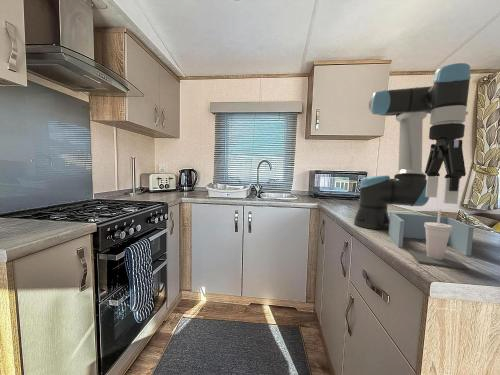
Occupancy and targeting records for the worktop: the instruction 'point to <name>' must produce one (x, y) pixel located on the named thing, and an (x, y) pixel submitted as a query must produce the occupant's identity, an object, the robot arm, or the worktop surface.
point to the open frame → (415, 228)
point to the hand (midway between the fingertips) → (439, 200)
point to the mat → (445, 262)
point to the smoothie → (437, 238)
